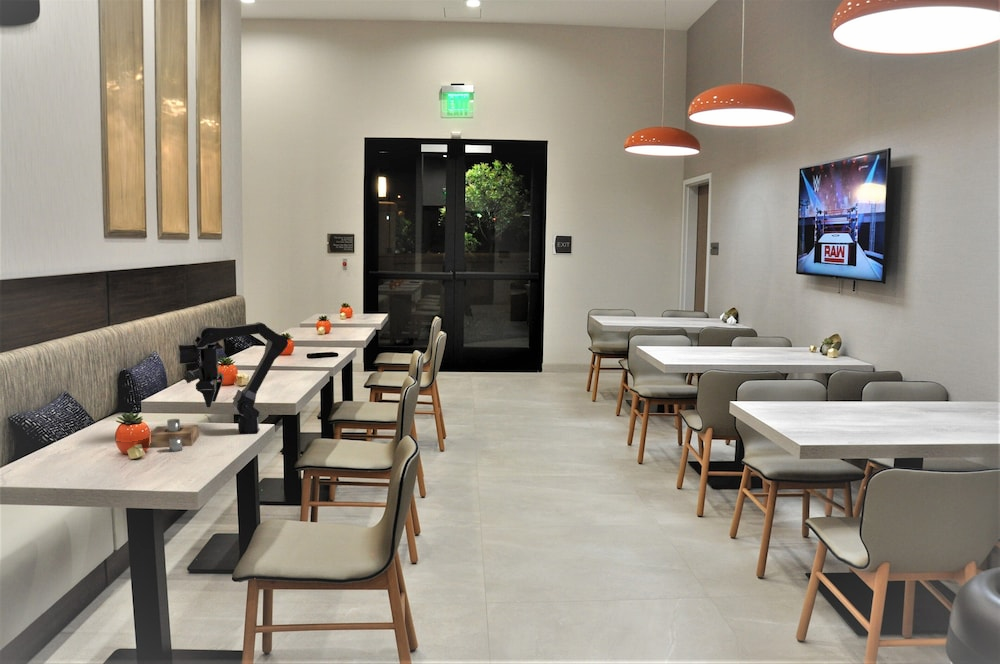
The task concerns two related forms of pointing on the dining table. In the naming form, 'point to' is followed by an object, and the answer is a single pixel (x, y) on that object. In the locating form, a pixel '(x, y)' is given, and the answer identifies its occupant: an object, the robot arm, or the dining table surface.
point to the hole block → (174, 435)
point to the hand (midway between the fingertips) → (211, 404)
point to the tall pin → (173, 425)
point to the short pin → (175, 444)
